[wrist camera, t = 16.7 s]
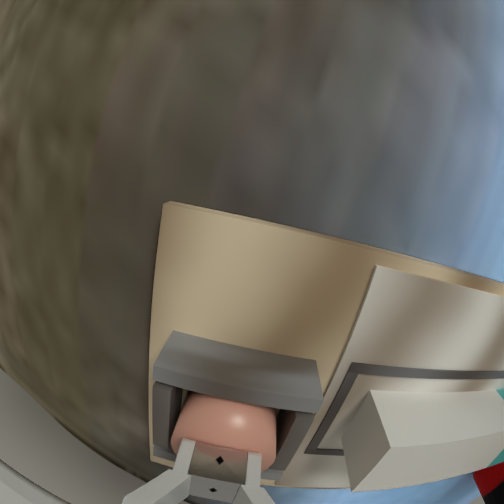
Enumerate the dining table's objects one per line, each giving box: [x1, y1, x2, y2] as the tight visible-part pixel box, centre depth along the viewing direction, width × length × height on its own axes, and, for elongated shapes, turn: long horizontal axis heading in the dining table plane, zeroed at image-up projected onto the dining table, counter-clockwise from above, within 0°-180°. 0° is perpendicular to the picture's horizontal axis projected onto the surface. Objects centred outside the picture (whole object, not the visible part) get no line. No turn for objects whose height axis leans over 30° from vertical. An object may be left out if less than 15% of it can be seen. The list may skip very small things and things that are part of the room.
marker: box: [341, 389, 504, 492], centre depth 11 cm, size 4×12×4 cm, turn 78°
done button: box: [171, 390, 276, 472], centre depth 11 cm, size 4×4×3 cm
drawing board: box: [149, 201, 504, 489], centre depth 12 cm, size 24×16×3 cm, turn 78°
